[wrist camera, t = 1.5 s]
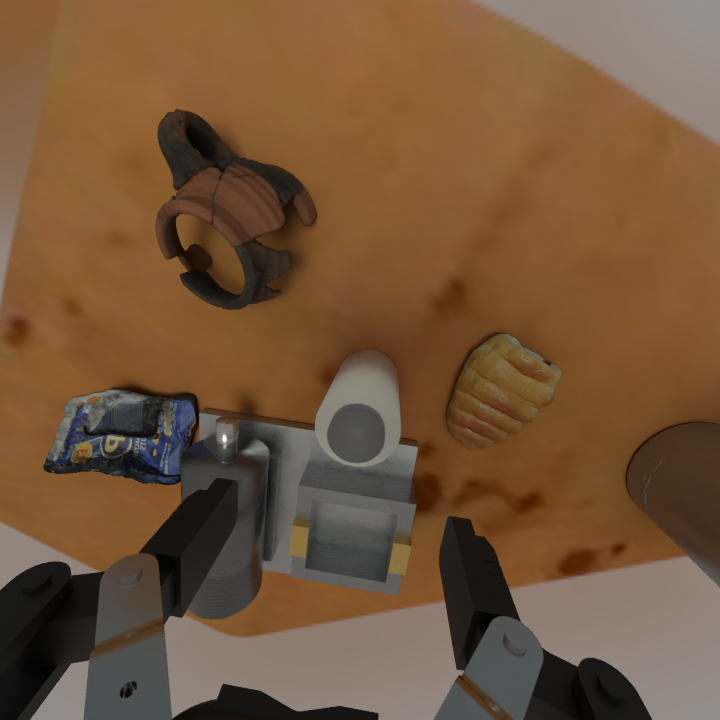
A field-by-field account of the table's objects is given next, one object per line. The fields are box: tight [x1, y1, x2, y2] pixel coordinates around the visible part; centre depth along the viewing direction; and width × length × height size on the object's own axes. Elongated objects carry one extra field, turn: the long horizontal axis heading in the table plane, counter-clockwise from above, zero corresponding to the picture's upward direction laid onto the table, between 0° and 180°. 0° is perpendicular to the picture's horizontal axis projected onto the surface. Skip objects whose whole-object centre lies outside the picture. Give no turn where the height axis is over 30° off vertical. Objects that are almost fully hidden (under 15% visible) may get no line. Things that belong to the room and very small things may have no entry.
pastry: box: [447, 334, 562, 450], centre depth 26 cm, size 9×7×4 cm
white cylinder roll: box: [315, 349, 401, 467], centre depth 23 cm, size 5×5×10 cm
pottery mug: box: [155, 109, 317, 310], centre depth 23 cm, size 12×10×8 cm
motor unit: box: [180, 408, 418, 619], centre depth 28 cm, size 19×18×7 cm
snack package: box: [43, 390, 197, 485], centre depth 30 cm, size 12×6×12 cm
